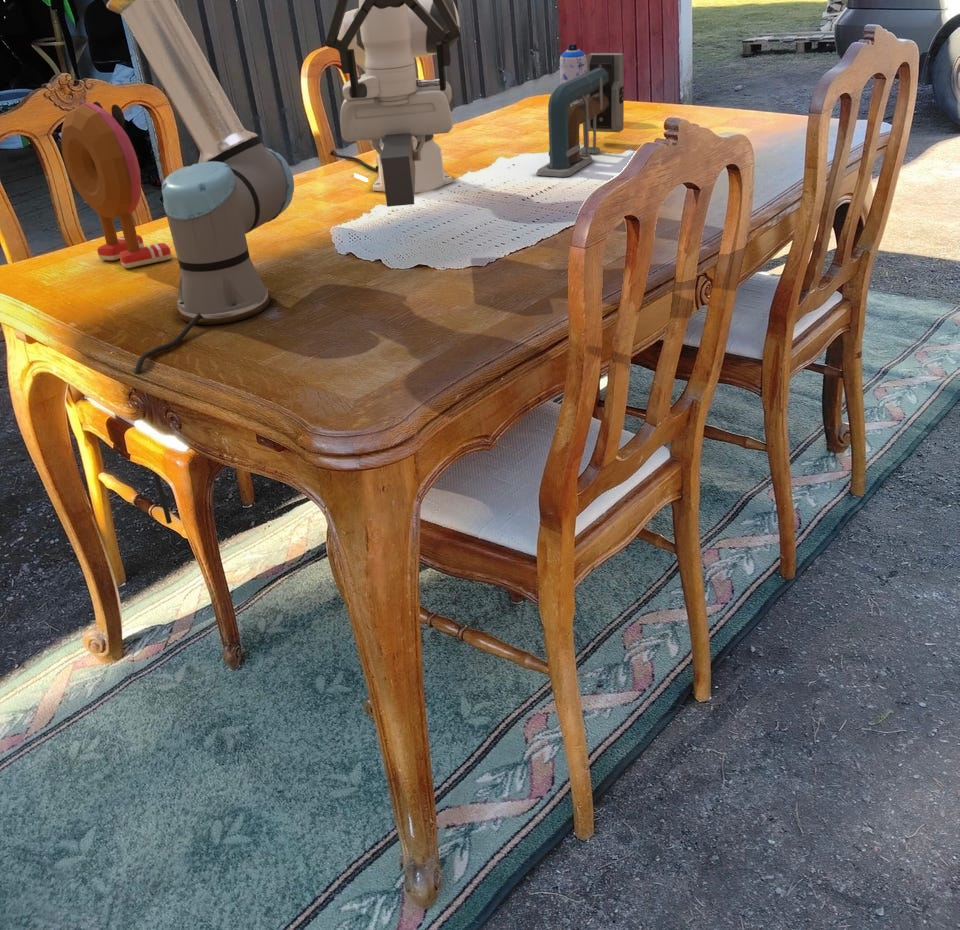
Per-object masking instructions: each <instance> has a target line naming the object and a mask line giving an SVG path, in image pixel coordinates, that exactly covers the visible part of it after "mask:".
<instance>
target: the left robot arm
mask: <svg viewBox="0 0 960 930" xmlns="http://www.w3.org/2000/svg"><path fill="white" fill-rule="evenodd" d="M102 1H103V3H104V5H105V6H106V8H107V9H108V11H112V12H113V13H116V14H119V15H121V16H122V17H123V19H124V21H125V23H126V24H127V27H128V28H129V30H130V32H131V33H132V35H133V37H134V38H135V40H136V42H137V44H138V45H139V47H140V49H141V51H142V52H143V54H144V56H145V58H146V60H147V61H148V63H149V65H150V66H151V68H152V70H153V72H154V73H155V76H156V77H157V79H158V80H159V83H160V84H161V86H162V87H163V89H164V91H165V93H166V95H167V97H168V98H169V100H170V102H171V103H172V105H173V107H174V108H175V110H176V112H177V114H178V116H179V117H180V119H181V121H182V122H183V124H184V126H185V128H186V130H187V132H188V133H189V135H190V137H191V138H192V140H193V142H194V144H195V145H196V147H197V149H198V151H199V159H198V162H197V163H193V164H191V165H190V166H189V165H187V166H183V167H180V168H178V169H176V170H174V171H173V172H171V173H170V174H168V175H167V176H166V177H165V178H164V180H163V182H162V185H161V193H162V200H163V204H162V205H163V210H164V213H165V214H166V219H167V223H168V226H169V230H170V231H169V232H170V235H171V238H172V242H173V247H174V250H175V254H176V258H177V262H178V266H179V283H178V294H177V303H176V305H177V310H178V314H179V318H180V319H182V320H183V321H184V322H186V323H188V324H187V325H186V326H185V327H184V328H183V329H182V330H181V332H180V333H179V334H178V335H176V336H175V337H174V339H172V340H171V341H169V342H167V343H165V344H162V345H159V346H156V347H153V348H152V349H149V350H148V351H145V352H144V353H142V354H140V356H139V357H138V359H137V362H136V365H135V370H134V374H135V375H139V374H141V373H142V368H143V365H144V362H145V360H146V359H148V358H150V357H152V356H154V355H156V354H158V353H160V352H163V351H166V350H168V349H171V348H173V347H175V346H176V345H177V344H179V343H180V341H181V340H182V339H183V338H184V337H186V335H187V334H188V333H189V332H190V330H192V328H193V327H194V326H195V325H202V326H203V325H204V326H205V325H206V326H210V325H222V324H230V323H233V322H239V321H241V320H245V319H248V318H251V317H253V316H256V315H258V314H260V312H263V311H264V310H265V309H266V308H267V307H268V306H269V305H270V296H269V291H268V288H267V287H266V284H265V283H264V282H263V280H262V278H261V276H260V274H259V272H258V270H257V269H256V267H255V265H254V264H253V262H252V260H251V257H250V251H249V246H248V241H247V236H246V234H249V233H250V232H252V231H254V230H256V229H257V228H259V227H261V226H262V225H265V224H267V223H271V222H272V221H273V220H275V219H277V218H278V217H279V216H280V215H281V214H282V213H284V212H285V211H286V210H287V209H288V208H289V206H290V204H291V203H292V200H293V195H294V193H295V180H294V176H293V172H292V170H291V167H290V165H289V164H288V162H287V160H286V159H285V158H284V157H283V156H282V155H281V154H280V153H279V152H276V151H274V150H273V149H270V148H266V147H265V145H264V143H263V142H262V140H261V137H260V136H259V135H258V134H257V133H255V132H252V131H249V130H247V129H245V127H244V126H243V124H242V121H240V118H239V116H238V115H237V113H236V111H235V110H234V107H233V106H232V104H231V102H230V100H229V98H228V96H227V94H226V93H225V90H224V89H223V87H222V85H221V83H220V81H219V80H218V78H217V76H216V75H215V73H214V71H213V69H212V67H211V65H210V64H209V62H208V60H207V58H206V56H205V54H204V53H203V51H202V49H201V47H200V45H199V43H198V41H197V40H196V38H195V36H194V34H193V32H192V31H191V29H190V27H189V25H188V23H187V22H186V20H185V18H184V16H183V14H182V12H181V11H180V8H179V7H178V5H177V3H176V1H175V0H102ZM433 2H434V4H435V5H436V7H437V9H438V11H439V13H440V14H441V16H442V18H443V20H444V22H445V23H446V25H447V27H448V29H449V30H450V31H448V32H446V31H445V30H444V29H443V28H442V27H441V26H440V25H439V24H438V23H437V21H436V20H435V19H434V18H433V17H432V16H431V15H430V14H429V13H428V12H427V11H426V9H425V8H424V7H423V6H422V5H421V4H420V3H419V2H418V0H365V1H364V3H363V5H362V6H361V8H360V10H359V12H358V13H357V15H356V17H355V18H354V20H353V22H352V23H351V25H350V27H349V28H348V30H347V32H346V33H345V35H344V37H343V38H342V40H339V39H337V38H338V35H339V31H340V28H341V25H342V22H343V18H344V15H345V12H347V9H348V5H349V3H350V0H337V3H336V6H335V11H334V13H333V17H332V20H331V24H330V26H329V30H328V34H327V37H326V40H325V46H326V47H327V48H329V49H330V48H331V49H335V50H337V51H338V53H339V61H340V67H341V71H342V74H348V75H349V80H350V83H351V91H352V97H357V96H358V95H359V94H360V93H359V85H358V78H357V77H358V71H357V64H356V62H355V55H354V49H349V50H348V46H349V45H350V43H351V41H352V40H353V38H354V36H355V35H356V33H357V32H358V30H359V28H360V27H361V25H362V23H363V22H364V20H365V18H366V17H367V15H368V13H369V12H370V10H371V9H372V7H373V6H375V7H377V8H379V9H384V8H387V7H394V8H397V7H401V6H402V5H404V4H406V5H407V6H408V7H409V8H410V9H411V10H412V11H413V12H414V13H415V14H416V15H417V16H418V17H419V18H420V19H421V21H422V22H423V23H424V24H425V25H426V26H427V27H428V28H429V29H430V30H431V31H432V32H433V34H434V35H435V36H436V37H437V38H438V39H439V40H440V41H441V42H437V44H436V50H437V54H436V59H437V70H438V71H437V72H438V78H439V83H440V91H444V90H445V89H446V82H447V81H446V80H447V79H446V71H445V67H449V66H450V65H451V62H452V53H451V48H450V41H451V40H453V39H455V38H458V37H459V38H460V35H461V32H462V31H461V27H460V28H459V26H458V25H457V23H456V21H455V19H454V17H453V16H452V14H451V12H450V10H449V8H448V7H447V5H446V3H445V1H444V0H433ZM459 38H458V39H459ZM152 476H153V479H154V483H155V486H156V490H157V492H158V497H159V500H160V503H161V506H162V507H161V508H162V511H163V514H164V518H165V522H166V524H167V525H169V524H171V523H173V520H172V517H171V512H170V508H169V506H168V502H167V498H166V494H165V490H164V488H163V486H162V481H161V478H160V475H159V474H154V475H152Z"/></svg>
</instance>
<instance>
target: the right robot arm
mask: <svg viewBox="0 0 960 930" xmlns="http://www.w3.org/2000/svg"><path fill="white" fill-rule="evenodd" d="M364 1H365V0H358V7H357V8H354V9H351V10H348V11H346V12H345V15H344V18H343V22H342V25H341V28H340V31H339V35H338V38H337V39H339V40H342V38H343V37H344V35H345V33H346V32H347V30H348V28H349V27H350V25H351V23H352V22H353V20H354V18H355V17H356V15H357V13H358V12H359V10H360V8H361V6H362V5H363V3H364ZM444 1H445V3H446V5H447V7H448V8H449V10H450V12H451V14H452V16H453V17H454V19H455V21H456V23H457V25H458V26H459V28H460V29H461V23H460V15H459V12H458V10H457V7H456V3H455V2H454V0H444ZM418 2H419V3H420V4H421V5H422V6H423V7H424V8H425V9H426V11H427V12H428V13H429V14H430V15H431V16H432V17H433V18H434V19H435V20H436V21H437V23H438V24H439V25H440V26H441V27H442V28H443V29H444V30H445V31H446V32H448V31H450V30H449V29H448V27H447V25H446V23H445V22H444V20H443V18H442V16H441V14H440V13H439V11H438V9H437V7H436V5H435V4H434V2H433V0H418ZM459 38H460V36H459V37H458V38H455V39H453V40H451V41H450V49H451V48H453V47H454V45H455V44H456V43H457V41H458V40H459ZM437 42H441V41H440V40H439V39H438V38H437V37H436V36H435V35H434V34H433V32H432V31H431V30H430V29H429V28H428V27H427V26H426V25H425V24H424V23H423V22H422V21H421V19H420V18H419V17H418V16H417V15H416V14H415V13H414V12H413V11H412V10H411V9H410V8H409V7H408V6H407V5H406V4H404V5H402V6H401V7H397V8H394V7H387V8H384V9H379V8H377V7H375V6H373V7H372V9H371V10H370V12H369V13H368V15H367V17H366V18H365V20H364V22H363V23H362V25H361V27H360V28H359V30H358V32H357V33H356V35H355V36H354V38H353V40H352V41H351V43H350V45H349V46H348V50H349V49H354V55H355V62H356V65H357V66H358V67H360V68H361V70H363V72H365V73H363V74H361V75H359V76H358V75H357V78H358V85H359V93H360V94H359V95H358V96H357V97H352V91H351V83H350V79H349V80H348V81H347V80H346V82H345V83H344V84H343V86H342V96H343V98H344V99H343V101H342V104H341V107H340V113H339V114H340V115H339V116H340V118H339V119H340V120H339V121H340V122H339V123H340V135H341V138H342V139H343V140H344V141H345V142H349V143H350V142H360V141H361V142H362V141H371V145H372V147H373V149H374V150H375V151H376V152H377V153H376V154H377V156H376V166H375V167H374V166H372V165H370V164H368V163H366V162H364V161H363V160H361V159H360V158H358V157H355V156H349V155H342V154H338V153H337V152H336V150H335V149H331V151H330V152H329V154H330V156H332V155H334V156H335V157H336V158H340V159H344V160H351V161H356V162H358V163H360V164H361V166H364V167H365V168H366V169H369V170H371V171H373V172H376V173H377V174H378V176H377V178H376V180H375V182H374V183H373V184H372V191H374V192H384V193H385V186H384V177H383V169H382V161H381V157H382V151H383V144H384V138H385V135H393V134H405V133H410V134H411V136H412V141H413V160H414V161H415V194H417V193H418V194H419V193H424V192H429V191H432V190H435V189H436V190H437V189H438V188H440V187H442V186H444V185H449V184H451V183H454V181H453V177H452V176H451V175H450V174H448V173H446V172H445V170H444V159H443V152H442V147H441V146H440V145H439V144H438V143H437V142H435V140H434V137H435V136H434V135H440V134H449V133H450V132H451V131H452V129H453V127H454V125H453V118H452V112H451V107H450V103H451V102H452V99H453V93H452V86H451V84H450V83H449V82H448V81H446V89H445V90H444V91H440V83H439V77H437V78H433V79H427V78H426V79H419V78H417V69H416V61H415V58H424V57H425V58H426V57H431V56H434V55H437V50H436V44H437ZM381 143H382V146H381ZM353 175H354V178H356V179H358V180H361V181H363V182H366V183H367V182H369V180H368V178H367V177H364V176H362V175H361V174H360V175H359V174H357V173H354V174H353Z"/></svg>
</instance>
